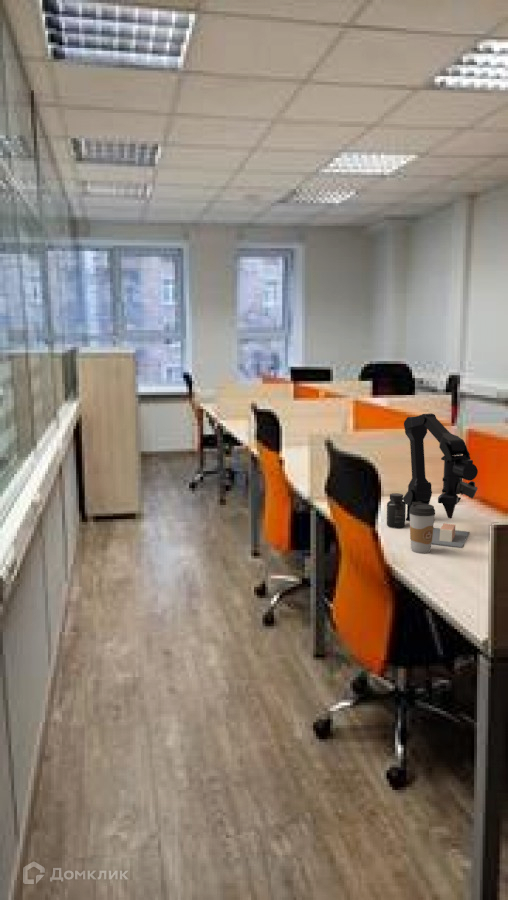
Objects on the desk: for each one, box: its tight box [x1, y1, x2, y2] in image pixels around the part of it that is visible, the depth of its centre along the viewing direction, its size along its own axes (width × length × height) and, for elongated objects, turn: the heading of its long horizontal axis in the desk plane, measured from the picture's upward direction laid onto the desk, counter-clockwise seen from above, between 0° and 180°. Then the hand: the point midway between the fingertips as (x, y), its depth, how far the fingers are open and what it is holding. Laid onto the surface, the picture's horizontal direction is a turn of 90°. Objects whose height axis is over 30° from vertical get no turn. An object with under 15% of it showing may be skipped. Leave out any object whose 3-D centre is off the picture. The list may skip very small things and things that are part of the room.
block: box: [440, 523, 456, 542], centre depth 234 cm, size 4×4×8 cm
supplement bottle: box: [386, 492, 407, 529], centre depth 249 cm, size 7×7×12 cm
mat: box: [431, 527, 470, 549], centre depth 236 cm, size 13×19×1 cm
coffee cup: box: [409, 503, 436, 554], centre depth 221 cm, size 8×8×15 cm
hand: (450, 518), depth 237 cm, fingers closed
